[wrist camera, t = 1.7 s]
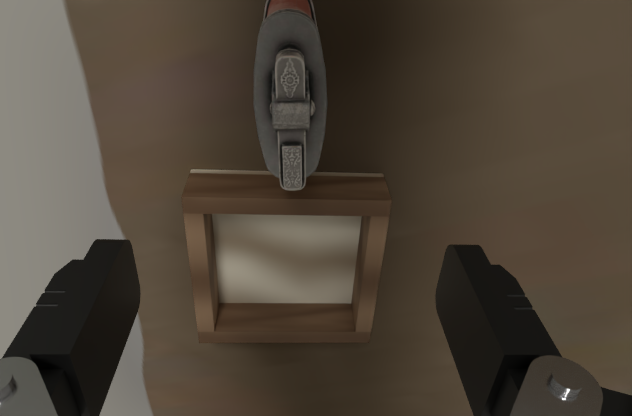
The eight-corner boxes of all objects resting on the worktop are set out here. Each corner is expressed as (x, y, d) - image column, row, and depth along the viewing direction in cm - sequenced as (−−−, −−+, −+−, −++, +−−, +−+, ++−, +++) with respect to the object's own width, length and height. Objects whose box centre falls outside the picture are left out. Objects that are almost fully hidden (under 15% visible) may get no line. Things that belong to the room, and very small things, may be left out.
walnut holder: (191, 169, 32) (181, 196, 29) (383, 173, 33) (392, 200, 30) (206, 309, 39) (199, 342, 36) (363, 309, 40) (369, 342, 37)
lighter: (257, -17, 26) (241, 26, 18) (320, -17, 26) (333, 25, 18) (265, 122, 30) (255, 209, 22) (318, 121, 31) (329, 207, 22)
